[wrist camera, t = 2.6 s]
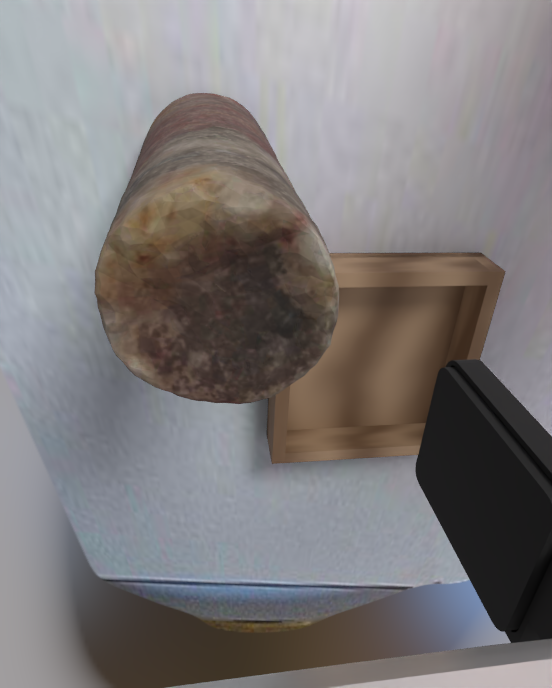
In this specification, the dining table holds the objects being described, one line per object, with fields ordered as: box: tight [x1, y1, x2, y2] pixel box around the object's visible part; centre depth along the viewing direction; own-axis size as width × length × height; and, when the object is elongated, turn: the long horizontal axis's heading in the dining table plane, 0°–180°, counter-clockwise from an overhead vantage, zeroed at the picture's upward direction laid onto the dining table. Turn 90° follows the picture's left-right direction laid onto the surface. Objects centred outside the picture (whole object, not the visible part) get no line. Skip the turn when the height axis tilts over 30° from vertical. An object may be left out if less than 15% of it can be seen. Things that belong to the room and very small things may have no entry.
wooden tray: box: [267, 253, 505, 464], centre depth 38 cm, size 15×16×4 cm
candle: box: [95, 93, 339, 404], centre depth 23 cm, size 8×7×20 cm
